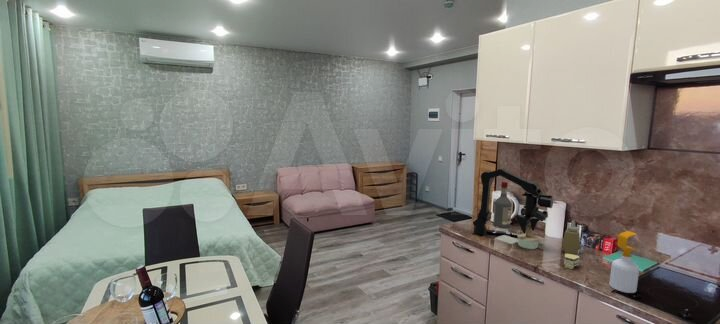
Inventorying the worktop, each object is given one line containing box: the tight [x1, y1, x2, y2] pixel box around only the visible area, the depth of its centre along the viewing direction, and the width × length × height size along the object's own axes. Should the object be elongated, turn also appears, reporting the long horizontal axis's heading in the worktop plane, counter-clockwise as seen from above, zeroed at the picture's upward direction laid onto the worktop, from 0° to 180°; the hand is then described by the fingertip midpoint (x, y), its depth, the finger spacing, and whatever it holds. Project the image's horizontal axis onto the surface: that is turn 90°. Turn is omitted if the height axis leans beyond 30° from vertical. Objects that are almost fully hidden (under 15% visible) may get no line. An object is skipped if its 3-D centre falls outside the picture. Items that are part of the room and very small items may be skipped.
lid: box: [516, 226, 540, 242], centre depth 187 cm, size 11×11×6 cm
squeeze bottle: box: [561, 219, 581, 255], centre depth 178 cm, size 8×8×18 cm
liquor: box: [492, 181, 513, 229], centre depth 222 cm, size 9×9×30 cm
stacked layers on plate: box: [563, 253, 580, 270], centre depth 162 cm, size 10×9×6 cm
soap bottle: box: [609, 230, 640, 294], centre depth 140 cm, size 9×9×25 cm
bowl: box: [517, 237, 539, 250], centre depth 188 cm, size 10×10×5 cm
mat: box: [493, 234, 518, 245], centre depth 198 cm, size 11×11×1 cm
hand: (528, 231), depth 187 cm, fingers open, 9 cm apart
